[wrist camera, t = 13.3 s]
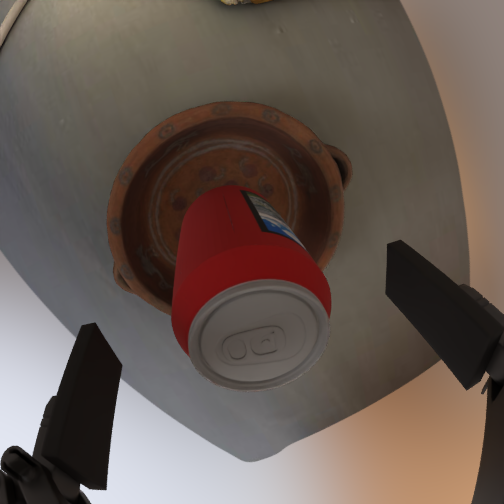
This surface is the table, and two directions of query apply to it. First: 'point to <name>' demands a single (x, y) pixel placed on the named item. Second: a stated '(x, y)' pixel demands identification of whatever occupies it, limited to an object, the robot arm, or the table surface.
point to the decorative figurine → (243, 1)
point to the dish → (215, 175)
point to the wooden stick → (11, 19)
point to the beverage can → (247, 293)
